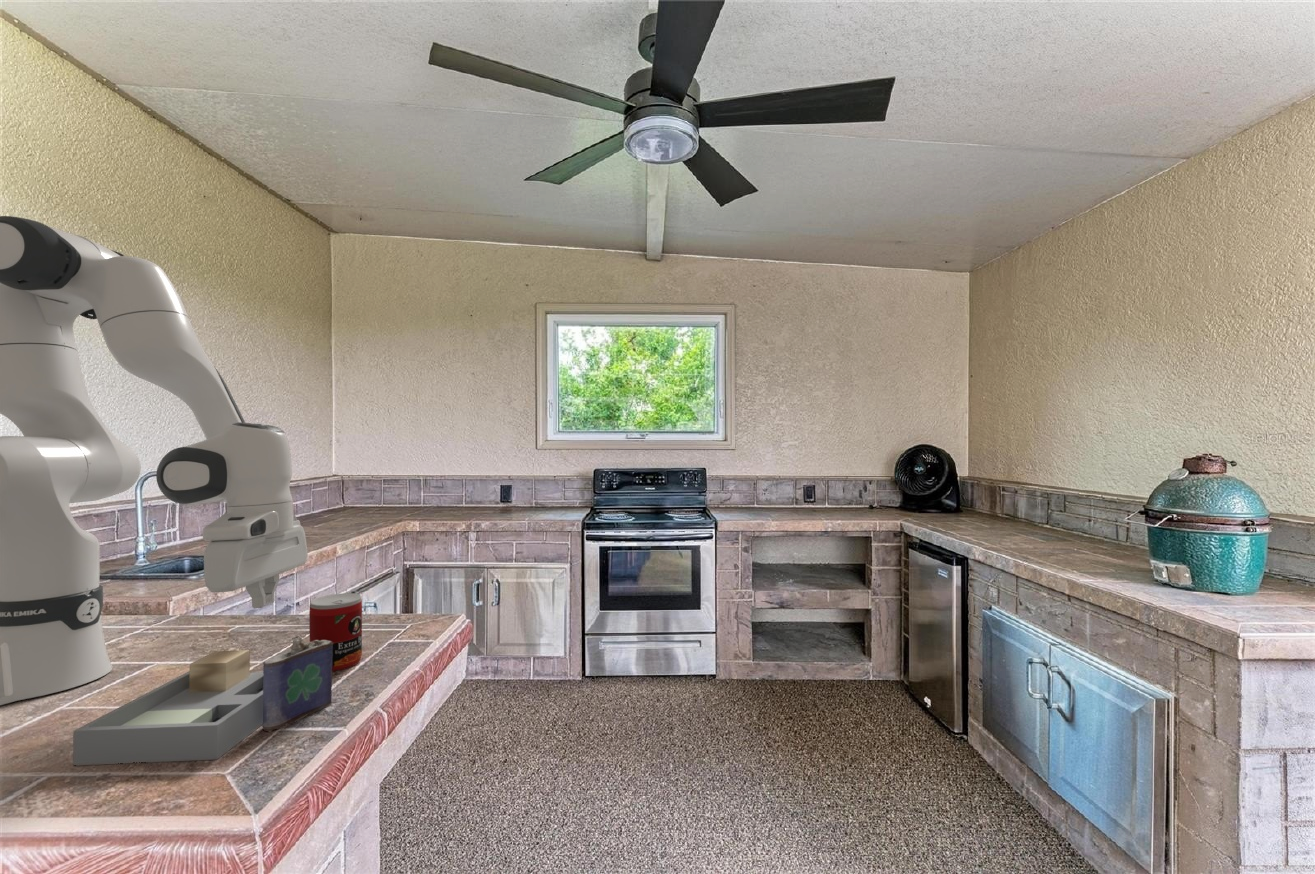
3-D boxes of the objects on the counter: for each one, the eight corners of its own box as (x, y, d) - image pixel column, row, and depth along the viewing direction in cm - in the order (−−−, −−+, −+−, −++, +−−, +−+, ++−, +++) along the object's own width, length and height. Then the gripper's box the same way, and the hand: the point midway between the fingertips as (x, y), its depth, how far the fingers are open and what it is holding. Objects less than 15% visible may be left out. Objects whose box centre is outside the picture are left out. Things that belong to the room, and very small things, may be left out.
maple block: (189, 692, 78) (189, 664, 79) (215, 677, 83) (215, 651, 84) (225, 691, 79) (226, 662, 79) (249, 676, 84) (249, 650, 84)
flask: (270, 734, 71) (270, 650, 71) (255, 729, 72) (256, 647, 72) (336, 703, 79) (337, 628, 79) (322, 699, 80) (323, 625, 81)
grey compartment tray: (73, 765, 64) (73, 731, 64) (208, 687, 85) (208, 661, 85) (217, 759, 65) (217, 725, 65) (316, 683, 86) (316, 657, 86)
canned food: (339, 674, 89) (339, 606, 89) (297, 671, 91) (297, 604, 91) (372, 656, 97) (372, 594, 97) (333, 653, 98) (333, 592, 98)
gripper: (280, 514, 100) (282, 590, 100) (193, 531, 80) (195, 627, 80) (316, 512, 101) (318, 588, 100) (238, 529, 80) (241, 624, 80)
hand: (263, 605), depth 90 cm, fingers closed
